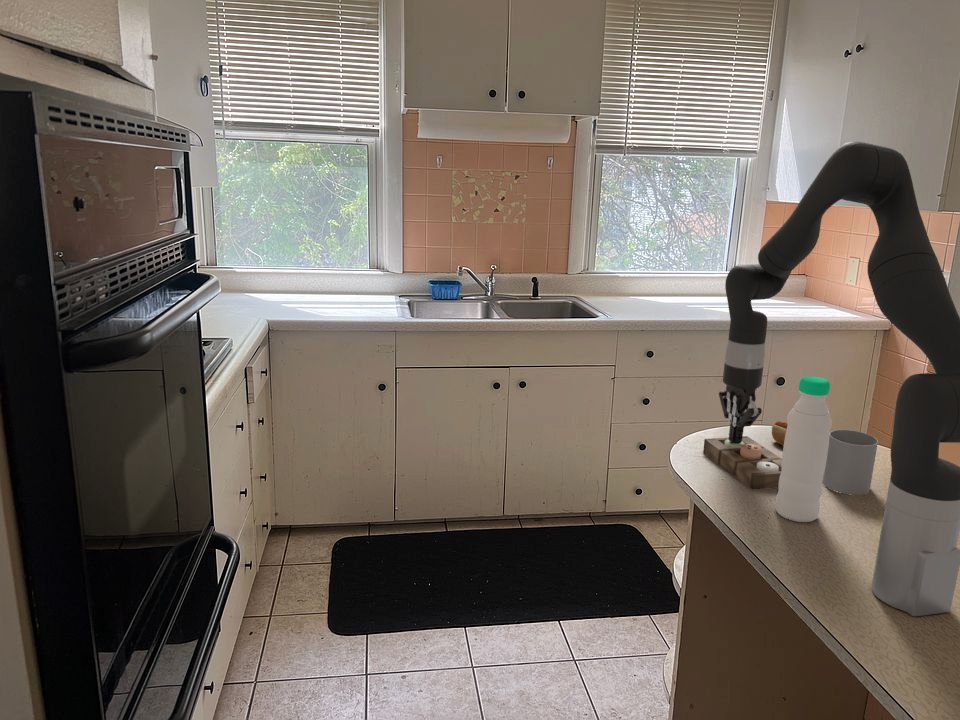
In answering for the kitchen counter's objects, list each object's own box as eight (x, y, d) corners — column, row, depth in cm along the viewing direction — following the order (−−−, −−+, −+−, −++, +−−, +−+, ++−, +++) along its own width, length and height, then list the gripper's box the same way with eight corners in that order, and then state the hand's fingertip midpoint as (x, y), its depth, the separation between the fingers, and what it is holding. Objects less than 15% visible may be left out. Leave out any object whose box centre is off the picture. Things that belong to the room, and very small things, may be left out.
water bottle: (822, 526, 128) (843, 386, 121) (778, 521, 129) (797, 383, 122) (812, 507, 134) (832, 374, 128) (771, 503, 136) (789, 371, 129)
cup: (880, 491, 141) (888, 442, 139) (847, 498, 138) (855, 448, 136) (844, 474, 149) (851, 427, 146) (812, 480, 146) (819, 432, 143)
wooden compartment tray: (799, 486, 143) (801, 471, 142) (752, 489, 141) (754, 475, 140) (745, 449, 161) (747, 436, 160) (703, 452, 159) (704, 439, 158)
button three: (764, 464, 149) (766, 449, 148) (746, 465, 148) (748, 451, 148) (753, 456, 153) (754, 442, 152) (735, 458, 152) (737, 443, 151)
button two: (747, 459, 155) (748, 444, 154) (729, 460, 154) (731, 446, 154) (736, 451, 159) (738, 437, 158) (719, 453, 158) (721, 439, 157)
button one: (781, 483, 144) (783, 468, 143) (762, 484, 143) (764, 469, 142) (769, 474, 148) (771, 460, 147) (751, 476, 147) (752, 461, 146)
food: (764, 441, 166) (767, 420, 165) (783, 438, 168) (786, 417, 167) (814, 464, 154) (817, 442, 152) (833, 461, 156) (837, 438, 155)
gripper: (779, 370, 146) (769, 452, 151) (743, 353, 158) (734, 429, 163) (745, 372, 144) (735, 455, 149) (710, 354, 157) (702, 431, 161)
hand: (734, 441), depth 156 cm, fingers closed
